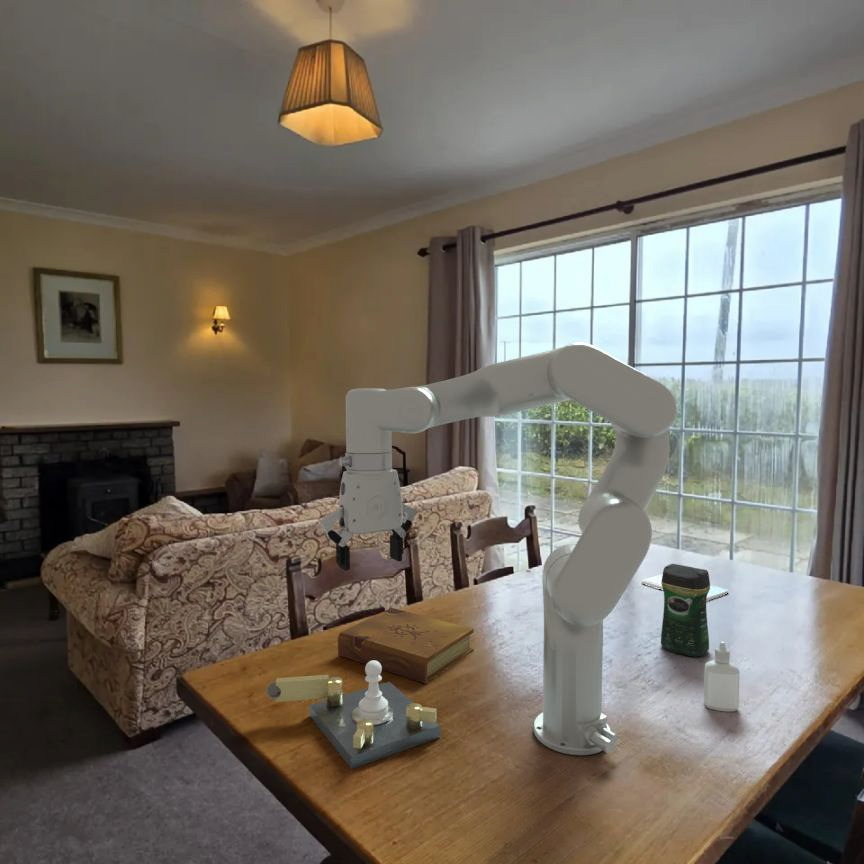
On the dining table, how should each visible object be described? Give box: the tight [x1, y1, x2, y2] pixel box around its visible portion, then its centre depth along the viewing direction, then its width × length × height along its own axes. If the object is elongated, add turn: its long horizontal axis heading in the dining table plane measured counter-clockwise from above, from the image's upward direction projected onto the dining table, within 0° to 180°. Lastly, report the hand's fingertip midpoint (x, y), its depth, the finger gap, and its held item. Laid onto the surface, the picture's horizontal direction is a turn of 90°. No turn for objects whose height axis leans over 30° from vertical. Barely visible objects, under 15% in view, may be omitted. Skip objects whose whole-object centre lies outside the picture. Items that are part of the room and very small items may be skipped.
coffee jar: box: [660, 563, 711, 658], centre depth 134 cm, size 10×8×19 cm
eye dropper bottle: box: [703, 641, 740, 713], centre depth 110 cm, size 4×6×12 cm
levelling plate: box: [308, 681, 441, 770], centre depth 104 cm, size 18×16×5 cm
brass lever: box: [265, 674, 344, 707], centre depth 107 cm, size 13×3×5 cm, turn 98°
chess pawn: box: [359, 660, 388, 720], centre depth 104 cm, size 5×5×9 cm
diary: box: [337, 607, 475, 685], centre depth 133 cm, size 23×19×6 cm
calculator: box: [641, 573, 729, 602], centre depth 175 cm, size 13×20×2 cm, turn 35°
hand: (370, 563), depth 102 cm, fingers open, 9 cm apart
